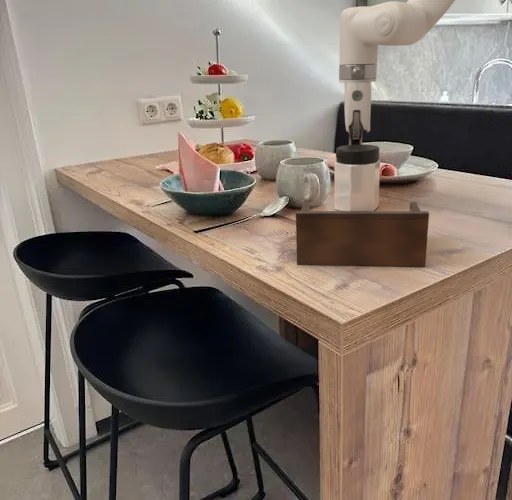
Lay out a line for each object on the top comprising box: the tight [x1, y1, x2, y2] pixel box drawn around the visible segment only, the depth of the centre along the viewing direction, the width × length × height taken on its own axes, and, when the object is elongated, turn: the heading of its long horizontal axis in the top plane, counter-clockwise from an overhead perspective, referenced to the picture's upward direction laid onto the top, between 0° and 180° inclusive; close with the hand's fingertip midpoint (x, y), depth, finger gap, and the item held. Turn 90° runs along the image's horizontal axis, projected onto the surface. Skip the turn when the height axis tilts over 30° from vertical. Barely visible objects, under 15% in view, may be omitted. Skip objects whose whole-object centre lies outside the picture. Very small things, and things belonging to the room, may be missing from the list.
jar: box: [333, 144, 381, 211], centre depth 98 cm, size 9×8×12 cm
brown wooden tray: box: [295, 201, 430, 268], centre depth 76 cm, size 18×13×8 cm
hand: (354, 163), depth 108 cm, fingers closed
